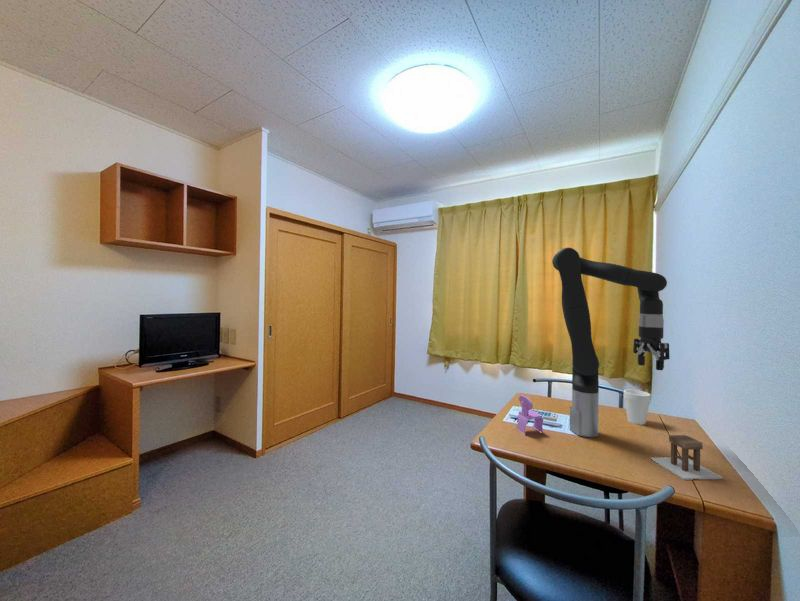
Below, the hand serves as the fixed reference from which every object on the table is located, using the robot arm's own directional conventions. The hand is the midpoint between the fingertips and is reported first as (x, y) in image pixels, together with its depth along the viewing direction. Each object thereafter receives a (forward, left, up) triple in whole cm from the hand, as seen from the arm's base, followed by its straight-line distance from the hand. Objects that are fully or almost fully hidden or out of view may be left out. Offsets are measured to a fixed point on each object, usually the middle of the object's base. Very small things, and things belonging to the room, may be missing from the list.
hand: (650, 367), depth 122 cm
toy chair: (-43, +8, -28) cm, 52 cm away
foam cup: (+9, +16, -28) cm, 34 cm away
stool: (-6, -21, -27) cm, 35 cm away
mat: (-6, -21, -28) cm, 35 cm away
